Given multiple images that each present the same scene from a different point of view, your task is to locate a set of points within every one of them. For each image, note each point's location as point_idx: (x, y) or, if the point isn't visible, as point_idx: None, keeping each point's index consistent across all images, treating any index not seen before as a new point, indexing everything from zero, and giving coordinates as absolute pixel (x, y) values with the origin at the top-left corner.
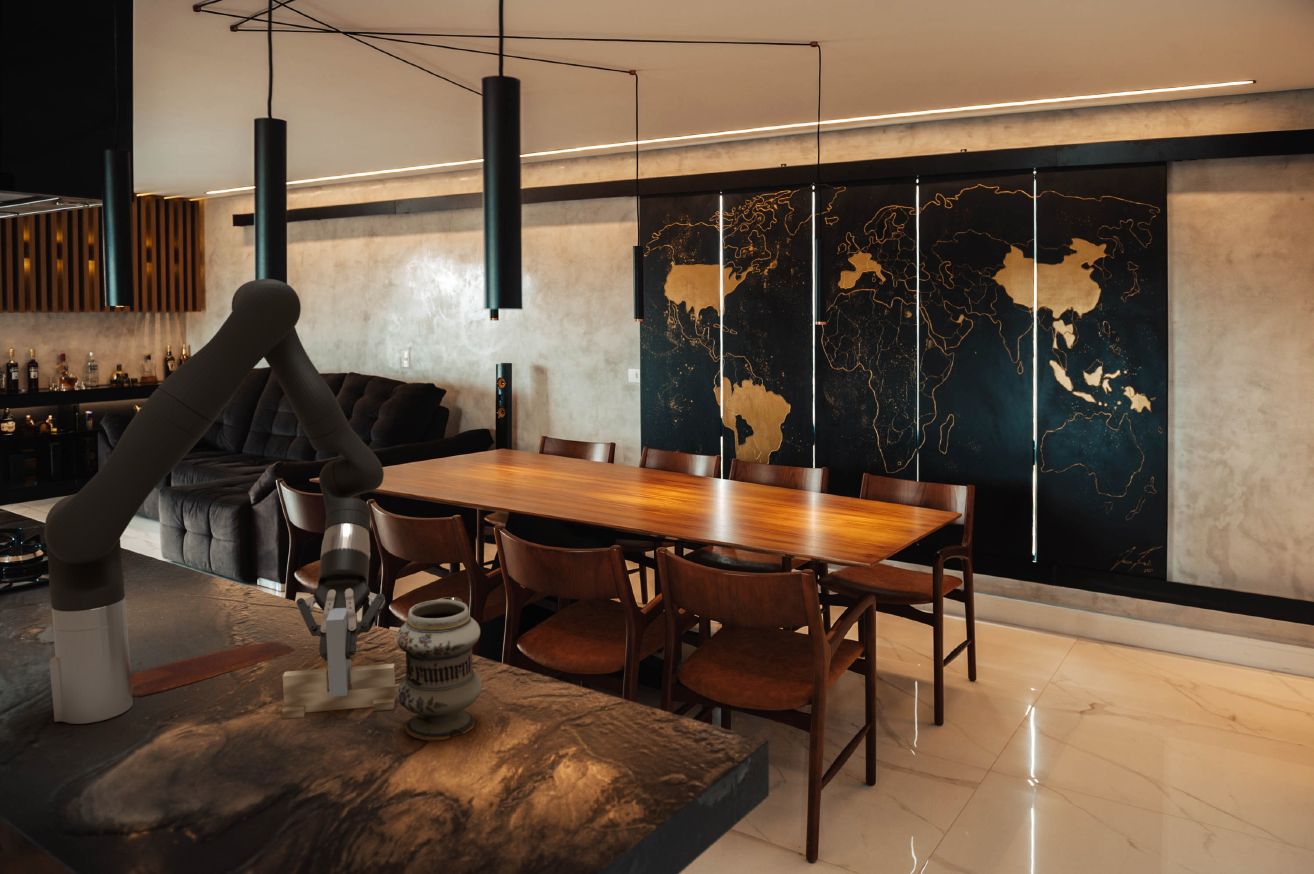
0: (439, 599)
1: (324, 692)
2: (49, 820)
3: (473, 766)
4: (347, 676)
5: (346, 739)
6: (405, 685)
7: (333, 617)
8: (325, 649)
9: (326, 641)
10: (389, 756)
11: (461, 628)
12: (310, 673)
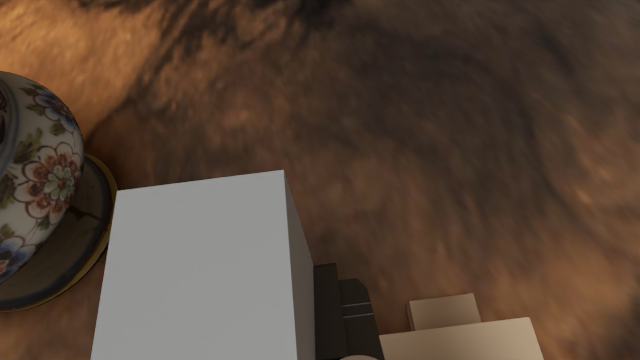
0: None
1: None
2: None
3: (16, 66)
4: None
5: (255, 170)
6: (27, 108)
7: (220, 249)
8: (327, 279)
9: (328, 313)
10: (159, 101)
11: None
12: (415, 340)
